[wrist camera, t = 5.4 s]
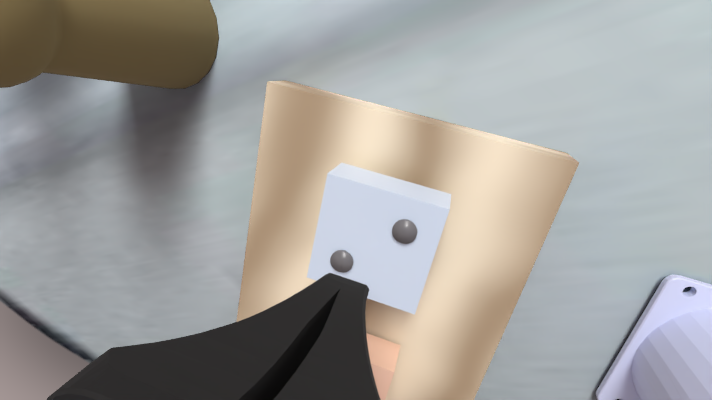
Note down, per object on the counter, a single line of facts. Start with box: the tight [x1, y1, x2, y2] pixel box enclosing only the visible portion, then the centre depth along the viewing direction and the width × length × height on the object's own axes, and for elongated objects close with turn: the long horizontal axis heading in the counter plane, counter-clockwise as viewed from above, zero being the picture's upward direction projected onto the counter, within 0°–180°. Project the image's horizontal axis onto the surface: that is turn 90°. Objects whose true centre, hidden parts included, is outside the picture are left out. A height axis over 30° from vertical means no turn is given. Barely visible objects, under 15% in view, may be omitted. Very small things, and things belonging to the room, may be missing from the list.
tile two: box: [307, 163, 451, 315], centre depth 17 cm, size 5×5×2 cm
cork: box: [0, 0, 219, 89], centre depth 16 cm, size 6×6×11 cm
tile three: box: [366, 333, 400, 400], centre depth 21 cm, size 5×5×2 cm
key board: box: [237, 81, 579, 400], centre depth 23 cm, size 14×28×2 cm, turn 167°
